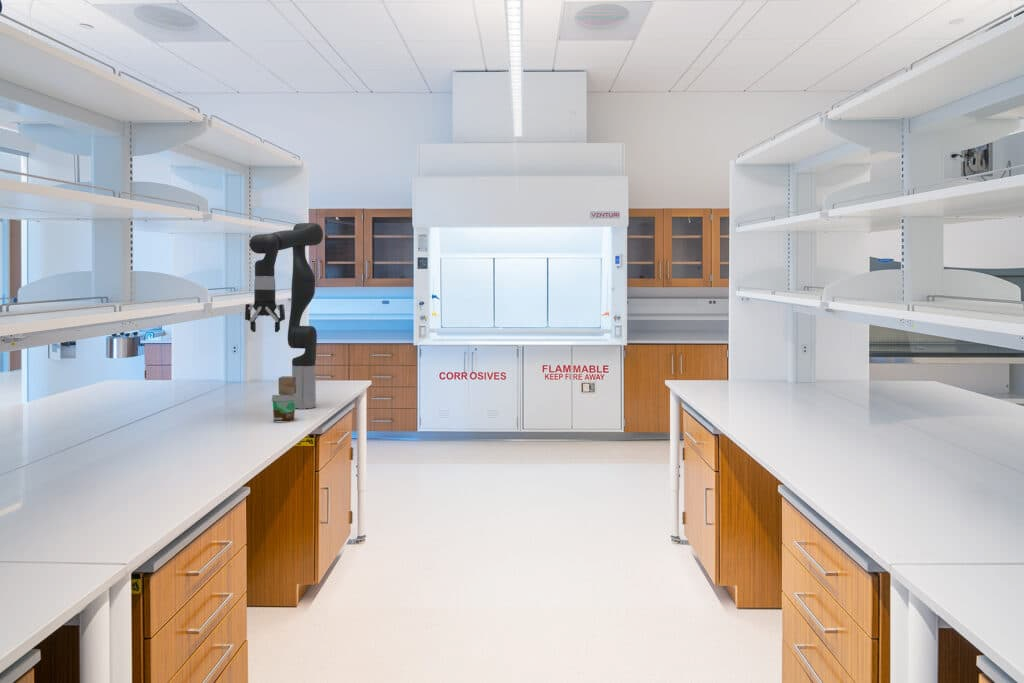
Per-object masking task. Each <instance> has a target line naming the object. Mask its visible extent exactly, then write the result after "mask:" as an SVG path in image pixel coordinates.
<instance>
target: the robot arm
mask: <svg viewBox="0 0 1024 683" xmlns="http://www.w3.org/2000/svg"><path fill="white" fill-rule="evenodd" d="M323 237H324V231H323V229H322V227H321V226H320V224H319V223H315V222H299V223H298V222H297V223H295V225H294V226H293V229H287V230H280V231H274V232H271V233H258V234H255V235H253V236H252V237H250V239H249V244H248V245H249V248H250V250H251V251H252V252H253V253H255V254H259V255H261V254H264V257H263V258H262V259H258V260H256V261H255V263H254V279H253V280H254V281H253V282H254V283H253V284H254V285H253V289H254V290H253V292H254V293H253V294H254V297H253V298H254V300H253V301H254V303H253V304H251V303H247V304H245V309H244V310H245V311H244V319H245V320H246V321H249V324H250V331H251V332H252V333H256V331H257V330H256V328H257V326H256V320H257V319H258V318H259V317H262V316H265V317H266V316H267V317H271V318H272V319H273V320H274V332H275V333H278V332H279V331H280V330H281V322H283V321H285V319H286V315H285V314H286V313H285V310H286V309H285V305H284V304H283V303H282V304H276V278H275V265H276V260H277V256H278V253H279V251H283V250H287V249H290V248H292V276H291V291H290V292H291V297H290V298H291V299H290V301H291V302H290V315H289V320H288V329H287V344H288V346H289V348H290V349H302V350H303V349H304V352H303V353H302V354H301V355H299V356H296V357H293V358H292V360H291V376H296V395H297V399H295V409H296V408H298V409H299V410H306V408H308V409H314V408H316V407H317V403H316V400H317V399H316V395H317V393H316V391H317V390H316V388H317V387H316V381H317V379H316V378H317V377H316V373H317V372H316V360H317V342H318V333H317V328H315V326H312V325H300V324H301V320H302V317H303V314H304V313H305V310H306V309H307V307H308V306H309V304H310V303H311V301H312V300H313V298H314V296H315V293H316V277H315V276H316V275H315V274H314V272H313V270H312V268H311V266H310V264H309V263H308V261H307V256H306V247H310V246H313V247H314V246H318V245H320V244H321V242H322V241H323V240H324V238H323ZM253 309H254V313H253V314H252V316H251V313H252V312H251V311H252V310H253ZM276 309H277V310H278V311H279V316H278V314H277V313H276ZM313 407H314V408H313Z"/></svg>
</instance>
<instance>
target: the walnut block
mask: <svg viewBox="0 0 1024 683" xmlns="http://www.w3.org/2000/svg"><path fill="white" fill-rule="evenodd" d="M294 393H296V376H292V375H291V376H286V375H283V376H280V377H278V395H280V394H294Z"/></svg>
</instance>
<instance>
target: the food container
mask: <svg viewBox="0 0 1024 683" xmlns="http://www.w3.org/2000/svg"><path fill="white" fill-rule="evenodd" d="M295 399H297V395H296V393H294V394H272V396H271V402H272V409H273V410H272V412H273V422H274V421H288V422H292V421H291V420H293V421H294V420H295V410H296V408H295Z"/></svg>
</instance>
